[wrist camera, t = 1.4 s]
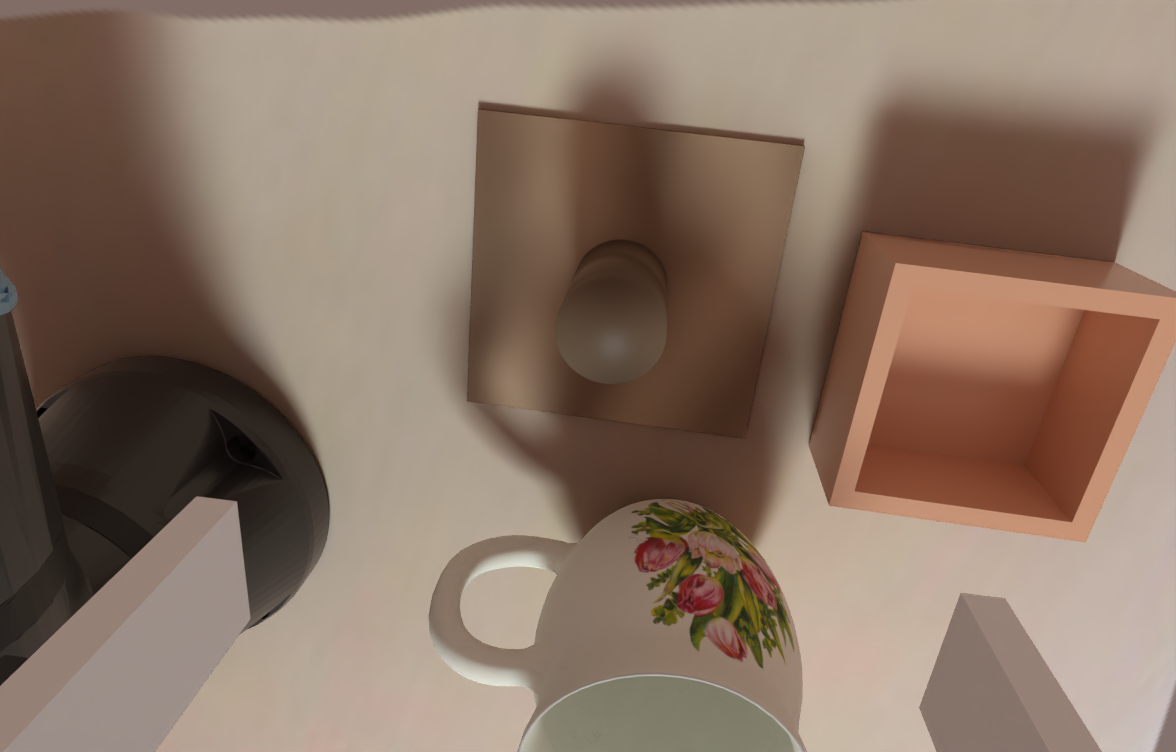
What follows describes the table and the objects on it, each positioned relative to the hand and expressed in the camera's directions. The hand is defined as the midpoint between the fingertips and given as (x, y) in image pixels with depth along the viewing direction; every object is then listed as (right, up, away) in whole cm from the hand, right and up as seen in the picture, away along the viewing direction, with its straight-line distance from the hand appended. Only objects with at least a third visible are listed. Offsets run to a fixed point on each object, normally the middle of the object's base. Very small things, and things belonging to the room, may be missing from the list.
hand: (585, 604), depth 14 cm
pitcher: (+3, -4, +24) cm, 25 cm away
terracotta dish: (+16, +5, +19) cm, 25 cm away
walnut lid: (+2, +8, +19) cm, 21 cm away
